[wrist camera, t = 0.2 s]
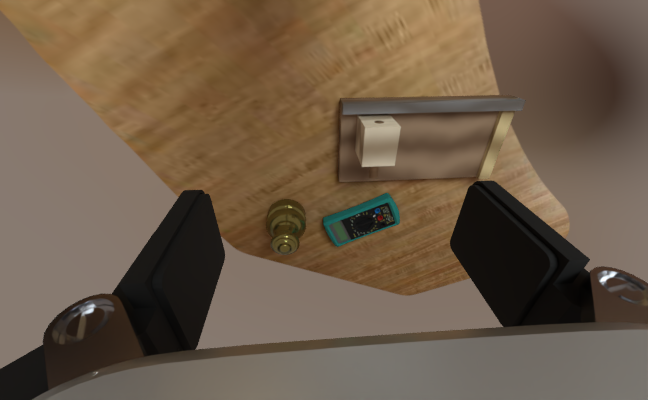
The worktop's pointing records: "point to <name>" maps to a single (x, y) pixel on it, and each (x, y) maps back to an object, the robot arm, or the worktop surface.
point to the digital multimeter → (362, 220)
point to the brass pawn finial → (286, 225)
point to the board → (431, 135)
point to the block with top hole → (376, 141)
